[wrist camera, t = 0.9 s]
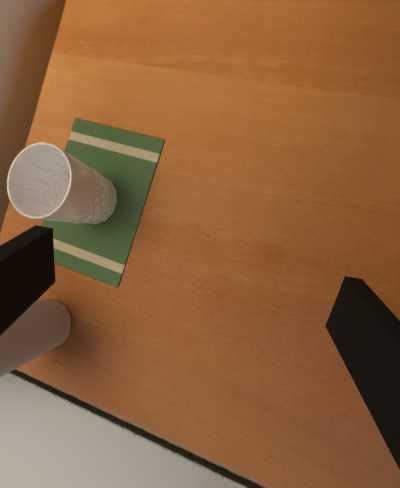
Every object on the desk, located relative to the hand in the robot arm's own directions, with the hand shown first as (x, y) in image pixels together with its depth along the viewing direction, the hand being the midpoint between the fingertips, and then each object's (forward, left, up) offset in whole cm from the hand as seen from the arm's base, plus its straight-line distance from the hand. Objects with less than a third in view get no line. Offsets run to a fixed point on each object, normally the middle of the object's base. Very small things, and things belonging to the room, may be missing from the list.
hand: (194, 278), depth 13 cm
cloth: (-2, -22, -22) cm, 31 cm away
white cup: (-2, -22, -22) cm, 31 cm away
